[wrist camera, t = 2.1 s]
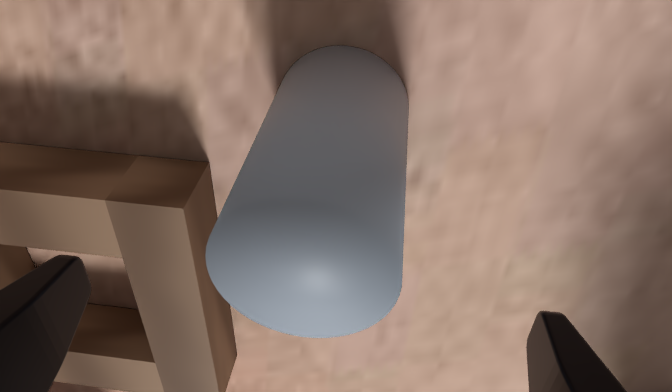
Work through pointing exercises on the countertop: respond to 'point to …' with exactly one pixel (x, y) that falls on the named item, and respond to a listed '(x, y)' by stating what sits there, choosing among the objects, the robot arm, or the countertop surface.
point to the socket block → (125, 262)
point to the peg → (319, 201)
